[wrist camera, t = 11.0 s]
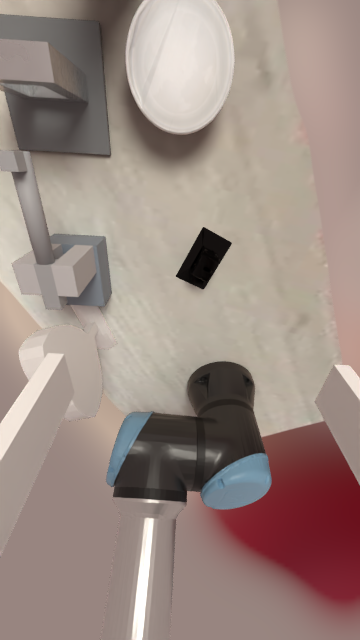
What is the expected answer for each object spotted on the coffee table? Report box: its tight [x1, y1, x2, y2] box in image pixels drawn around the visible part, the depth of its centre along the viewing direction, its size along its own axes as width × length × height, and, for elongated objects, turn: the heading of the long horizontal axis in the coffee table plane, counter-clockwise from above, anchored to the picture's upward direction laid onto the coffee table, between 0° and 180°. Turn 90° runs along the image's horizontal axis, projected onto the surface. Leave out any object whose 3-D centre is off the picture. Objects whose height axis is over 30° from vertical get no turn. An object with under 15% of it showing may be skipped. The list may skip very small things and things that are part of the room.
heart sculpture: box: [19, 305, 117, 421], centre depth 42 cm, size 16×5×18 cm, turn 15°
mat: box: [0, 14, 111, 155], centre depth 30 cm, size 12×12×1 cm
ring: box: [0, 39, 89, 103], centre depth 26 cm, size 2×8×10 cm, turn 87°
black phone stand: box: [176, 227, 232, 289], centre depth 41 cm, size 12×7×5 cm, turn 153°
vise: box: [0, 150, 112, 310], centre depth 34 cm, size 21×8×14 cm, turn 177°
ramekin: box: [125, 0, 235, 135], centre depth 28 cm, size 11×11×5 cm
